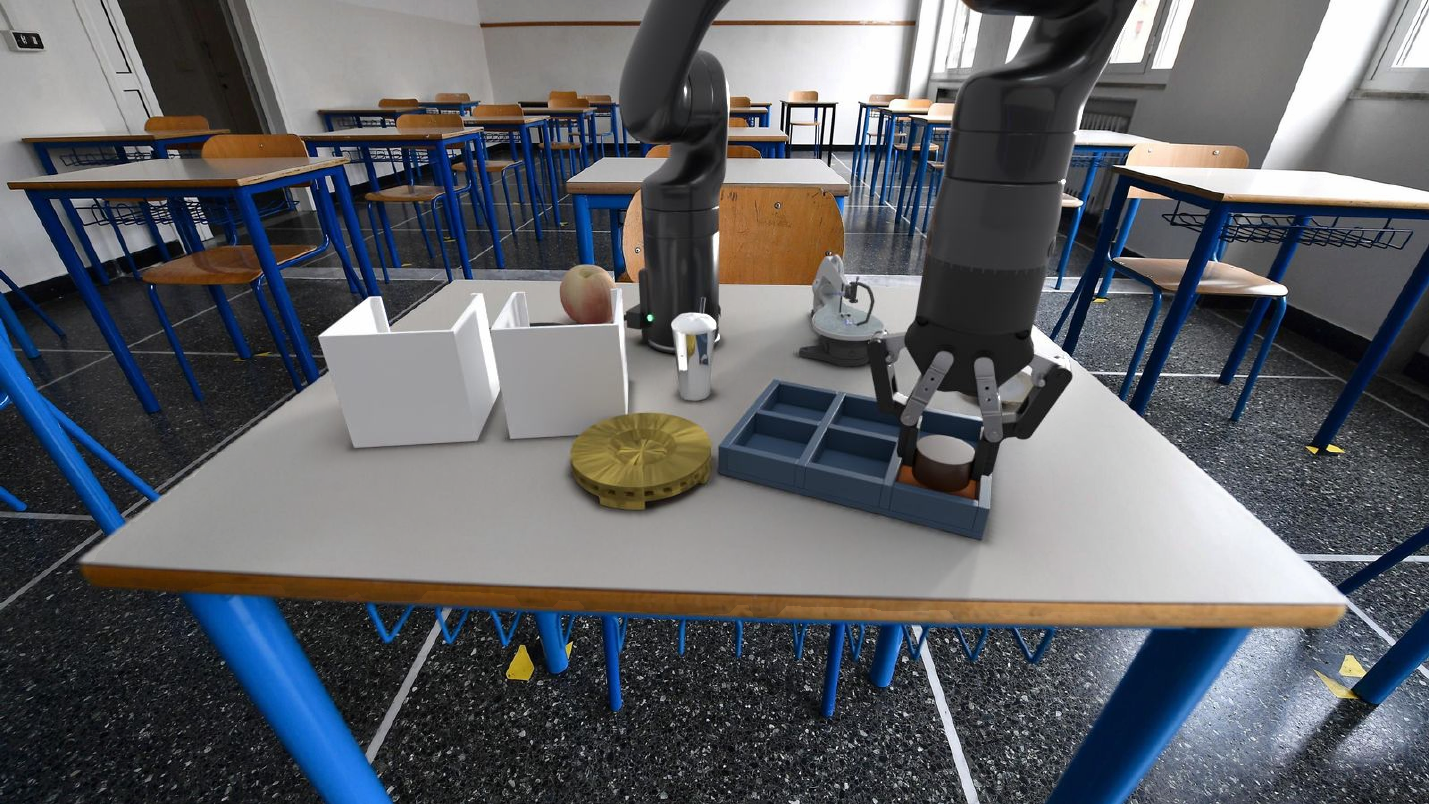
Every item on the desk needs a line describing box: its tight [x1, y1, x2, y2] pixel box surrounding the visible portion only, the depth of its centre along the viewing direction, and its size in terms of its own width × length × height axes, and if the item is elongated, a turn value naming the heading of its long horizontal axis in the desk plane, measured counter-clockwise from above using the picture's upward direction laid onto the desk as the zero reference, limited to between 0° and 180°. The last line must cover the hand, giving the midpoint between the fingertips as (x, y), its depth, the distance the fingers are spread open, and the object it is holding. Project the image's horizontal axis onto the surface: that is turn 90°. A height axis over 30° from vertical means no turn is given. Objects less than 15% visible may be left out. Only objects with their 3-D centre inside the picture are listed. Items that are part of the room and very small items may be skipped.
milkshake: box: [671, 297, 716, 402], centre depth 63 cm, size 4×5×10 cm
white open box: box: [317, 288, 629, 449], centre depth 59 cm, size 25×11×11 cm, turn 97°
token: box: [911, 435, 976, 492], centre depth 47 cm, size 4×4×2 cm
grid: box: [717, 379, 993, 541], centre depth 53 cm, size 21×14×3 cm
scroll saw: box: [798, 254, 890, 367], centre depth 77 cm, size 20×11×12 cm
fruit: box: [559, 264, 618, 325], centre depth 83 cm, size 8×8×8 cm
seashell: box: [1000, 370, 1034, 405], centre depth 64 cm, size 8×3×8 cm
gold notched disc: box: [569, 412, 712, 511], centre depth 52 cm, size 12×12×2 cm
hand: (941, 467), depth 47 cm, fingers closed on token, 4 cm apart
